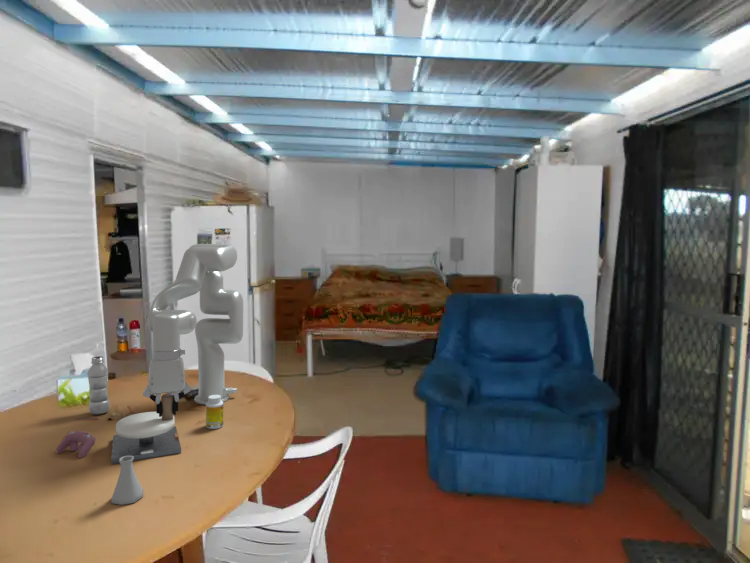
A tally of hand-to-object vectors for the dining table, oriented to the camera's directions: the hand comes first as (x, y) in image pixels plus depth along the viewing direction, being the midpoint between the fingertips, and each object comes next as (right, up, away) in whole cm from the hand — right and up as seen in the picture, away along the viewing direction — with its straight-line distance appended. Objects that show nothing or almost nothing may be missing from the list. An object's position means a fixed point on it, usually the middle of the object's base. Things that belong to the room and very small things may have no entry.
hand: (167, 413), depth 152 cm
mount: (-6, -9, -2) cm, 11 cm away
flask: (+3, -13, -31) cm, 33 cm away
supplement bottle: (+10, -8, +15) cm, 20 cm away
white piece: (-6, -4, -2) cm, 7 cm away
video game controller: (-24, -10, -7) cm, 26 cm away
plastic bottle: (-34, -6, +24) cm, 42 cm away
